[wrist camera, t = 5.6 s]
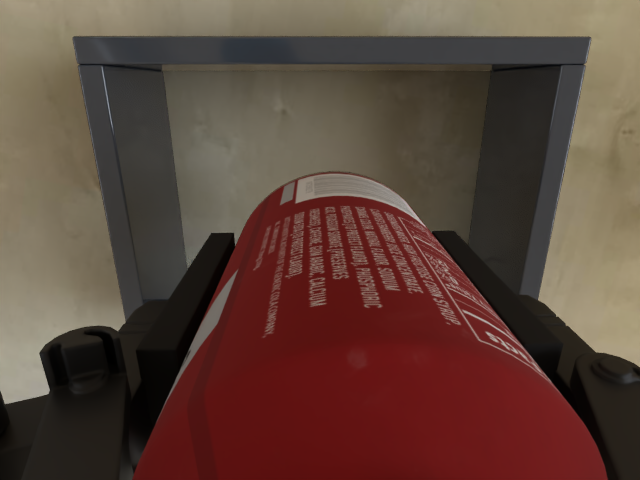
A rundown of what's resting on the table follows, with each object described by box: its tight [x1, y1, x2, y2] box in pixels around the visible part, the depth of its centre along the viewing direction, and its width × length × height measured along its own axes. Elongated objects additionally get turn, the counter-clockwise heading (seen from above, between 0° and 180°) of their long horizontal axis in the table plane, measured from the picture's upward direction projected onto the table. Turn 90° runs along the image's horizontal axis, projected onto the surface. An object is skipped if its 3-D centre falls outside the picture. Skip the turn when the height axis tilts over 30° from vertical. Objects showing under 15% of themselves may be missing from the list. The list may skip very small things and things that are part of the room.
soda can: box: [132, 171, 608, 480], centre depth 10 cm, size 7×7×12 cm
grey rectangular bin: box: [73, 36, 591, 321], centre depth 22 cm, size 16×20×7 cm
